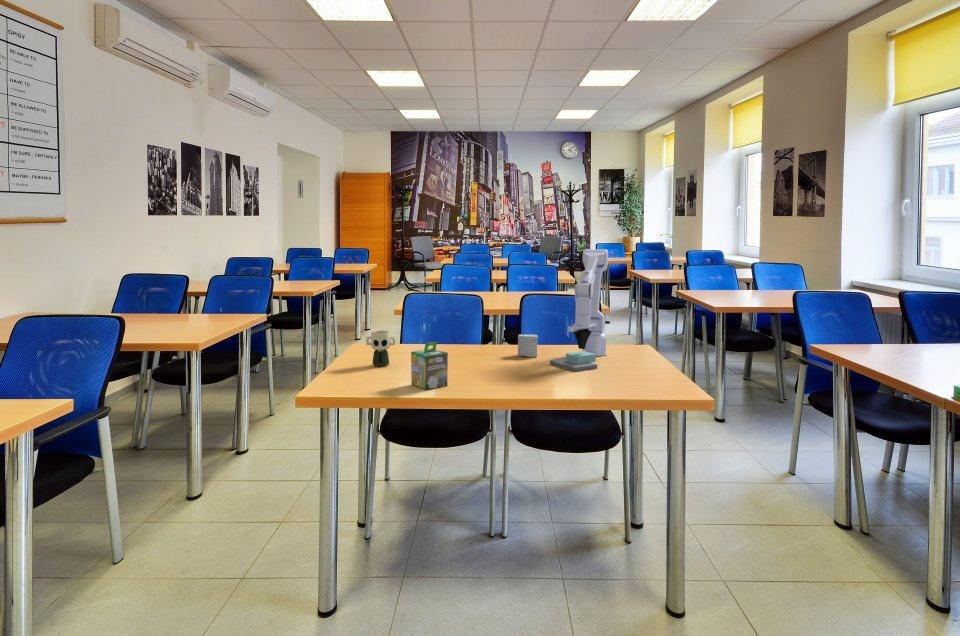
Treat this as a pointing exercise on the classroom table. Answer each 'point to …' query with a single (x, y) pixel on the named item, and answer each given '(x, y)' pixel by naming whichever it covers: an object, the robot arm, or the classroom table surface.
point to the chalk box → (429, 367)
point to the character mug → (380, 346)
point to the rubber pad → (572, 365)
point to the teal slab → (580, 357)
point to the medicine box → (527, 345)
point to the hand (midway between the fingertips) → (581, 348)
